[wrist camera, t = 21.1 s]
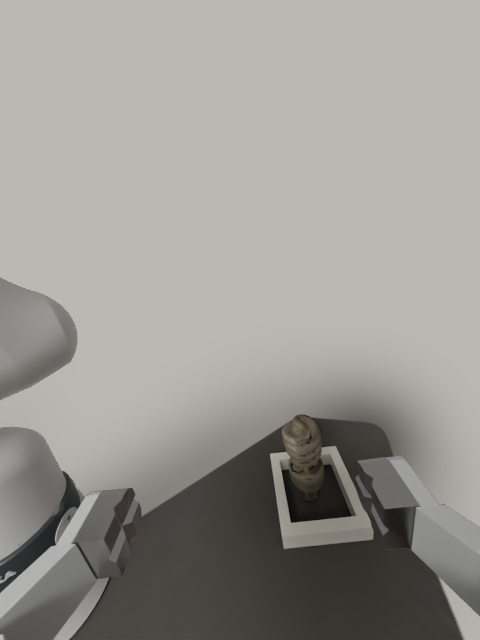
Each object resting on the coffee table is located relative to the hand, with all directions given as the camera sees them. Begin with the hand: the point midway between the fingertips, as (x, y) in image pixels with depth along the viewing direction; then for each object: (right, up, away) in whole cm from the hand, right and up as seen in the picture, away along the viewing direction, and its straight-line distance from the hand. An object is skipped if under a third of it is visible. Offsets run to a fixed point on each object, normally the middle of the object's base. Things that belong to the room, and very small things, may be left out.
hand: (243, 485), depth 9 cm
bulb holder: (+12, -22, +30) cm, 39 cm away
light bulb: (+11, -23, +30) cm, 39 cm away
